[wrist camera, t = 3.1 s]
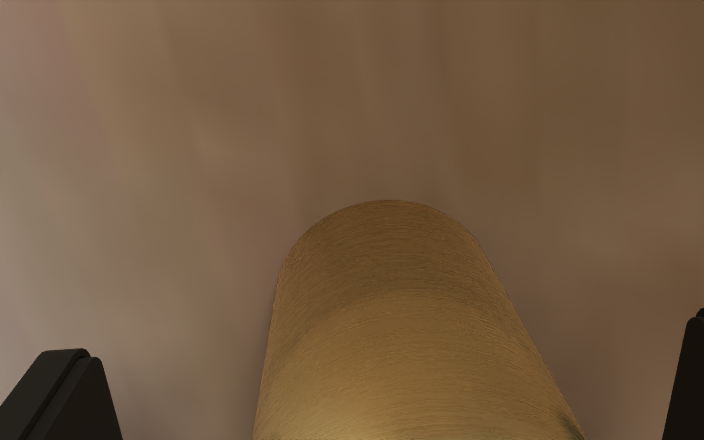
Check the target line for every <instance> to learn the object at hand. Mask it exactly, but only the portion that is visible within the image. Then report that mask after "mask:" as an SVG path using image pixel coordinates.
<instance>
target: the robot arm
mask: <svg viewBox="0 0 704 440" xmlns="http://www.w3.org/2000/svg"><path fill="white" fill-rule="evenodd" d="M0 440H123V438H122V435H121V431H120V427H119V424H118V420H117V416H116V412H115V409H114V405H113V401H112V398H111V394H110V390H109V387H108V383H107V379H106V375H105V372H104V368H103V365H102V362H101V360H100V359H99V358H97V357H91V356H90V354H89V353H88V351H87V350H86V349H83V348H79V349H64V350H49V351H44V352H42V353H41V354H40V355H39V356H38V357H37V358H36V360H35V361H34V362H33V364H32V365H31V366H30V368H29V369H28V370H27V372H26V373H25V374H24V376H23V377H22V378H21V380H20V381H19V382H18V384H17V385H16V386H15V388H14V389H13V390H12V392H11V393H10V394H9V396H8V397H7V398H6V400H5V401H4V402H3V404H2V405H1V406H0ZM662 440H704V308H702V309H700V310H699V311H698V313H697V315H696V317H693V318H691V319H690V320H689V321H688V322H687V325H686V329H685V334H684V339H683V343H682V348H681V353H680V357H679V362H678V367H677V371H676V376H675V381H674V386H673V390H672V395H671V400H670V404H669V409H668V414H667V419H666V423H665V428H664V433H663V437H662Z"/></svg>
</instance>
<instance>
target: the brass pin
mask: <svg viewBox="0 0 704 440" xmlns="http://www.w3.org/2000/svg"><path fill="white" fill-rule="evenodd" d="M252 440H587V438H586V437H585V435H584V433H583V431H582V429H581V428H580V426H579V424H578V422H577V420H576V419H575V417H574V415H573V413H572V411H571V410H570V408H569V406H568V404H567V402H566V401H565V399H564V397H563V395H562V393H561V392H560V390H559V388H558V386H557V384H556V383H555V381H554V379H553V377H552V375H551V374H550V372H549V370H548V368H547V366H546V365H545V363H544V361H543V359H542V357H541V356H540V354H539V352H538V350H537V348H536V347H535V345H534V343H533V341H532V339H531V338H530V336H529V334H528V332H527V330H526V329H525V327H524V325H523V323H522V322H521V320H520V318H519V316H518V314H517V313H516V311H515V309H514V307H513V305H512V304H511V302H510V300H509V298H508V296H507V295H506V293H505V291H504V289H503V287H502V286H501V284H500V282H499V280H498V278H497V277H496V275H495V273H494V271H493V269H492V268H491V266H490V264H489V262H488V260H487V259H486V257H485V255H484V253H483V251H482V250H481V248H480V246H479V245H478V243H477V242H476V241H475V239H474V238H473V236H472V235H471V234H470V233H469V232H468V231H467V230H466V229H465V228H464V227H463V226H461V225H460V224H459V223H458V222H456V221H455V220H454V219H452V218H451V217H449V216H447V215H445V214H444V213H442V212H440V211H438V210H435V209H433V208H430V207H428V206H425V205H421V204H417V203H413V202H406V201H398V200H380V201H372V202H365V203H361V204H357V205H353V206H350V207H347V208H345V209H342V210H339V211H337V212H335V213H333V214H331V215H329V216H327V217H326V218H324V219H322V220H321V221H320V222H318V223H317V224H315V225H314V226H312V227H311V228H310V229H309V230H308V231H307V232H306V233H305V234H304V235H303V236H302V237H301V238H300V239H299V240H298V241H297V243H296V244H295V245H294V246H293V248H292V249H291V251H290V252H289V254H288V256H287V257H286V259H285V261H284V264H283V266H282V268H281V271H280V274H279V278H278V282H277V287H276V294H275V300H274V306H273V312H272V318H271V324H270V331H269V337H268V343H267V349H266V355H265V362H264V368H263V374H262V380H261V386H260V393H259V399H258V405H257V411H256V417H255V424H254V430H253V436H252Z"/></svg>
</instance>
